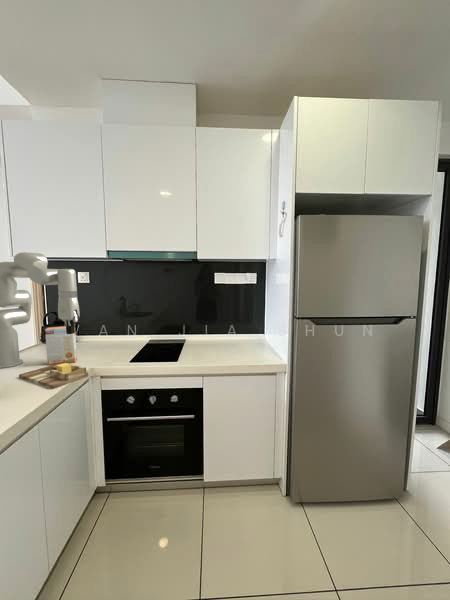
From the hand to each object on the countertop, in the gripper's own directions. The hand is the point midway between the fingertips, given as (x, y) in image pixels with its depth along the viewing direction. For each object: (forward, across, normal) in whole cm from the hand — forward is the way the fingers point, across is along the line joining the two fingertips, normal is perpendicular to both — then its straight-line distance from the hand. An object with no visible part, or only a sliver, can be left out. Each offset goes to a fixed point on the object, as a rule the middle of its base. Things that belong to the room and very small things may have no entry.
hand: (70, 333), depth 128 cm
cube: (+21, -8, 0) cm, 22 cm away
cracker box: (+22, -31, +13) cm, 40 cm away
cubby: (+21, -4, 0) cm, 21 cm away
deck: (+22, -12, -2) cm, 26 cm away
